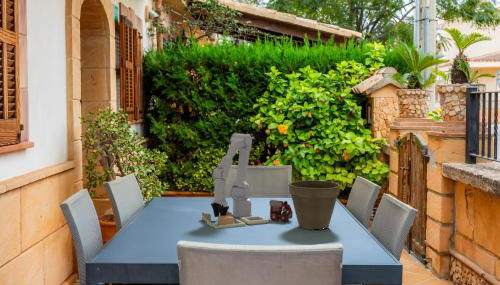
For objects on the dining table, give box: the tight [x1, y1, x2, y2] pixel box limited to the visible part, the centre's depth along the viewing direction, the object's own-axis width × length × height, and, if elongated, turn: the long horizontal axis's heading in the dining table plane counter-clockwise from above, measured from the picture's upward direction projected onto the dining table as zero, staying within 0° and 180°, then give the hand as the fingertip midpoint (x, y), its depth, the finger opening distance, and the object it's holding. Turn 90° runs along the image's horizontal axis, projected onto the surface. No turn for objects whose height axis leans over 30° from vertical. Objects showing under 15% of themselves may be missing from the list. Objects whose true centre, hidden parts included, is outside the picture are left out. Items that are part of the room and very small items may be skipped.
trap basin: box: [239, 215, 269, 226], centre depth 284 cm, size 11×10×2 cm
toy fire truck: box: [269, 199, 294, 223], centre depth 289 cm, size 7×12×10 cm, turn 68°
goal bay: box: [206, 218, 247, 230], centre depth 276 cm, size 16×11×1 cm
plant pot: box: [288, 179, 341, 230], centre depth 274 cm, size 25×25×22 cm
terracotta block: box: [217, 215, 235, 225], centre depth 276 cm, size 6×6×4 cm
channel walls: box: [201, 211, 233, 223], centre depth 286 cm, size 13×8×4 cm, turn 117°
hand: (219, 218), depth 283 cm, fingers open, 7 cm apart
